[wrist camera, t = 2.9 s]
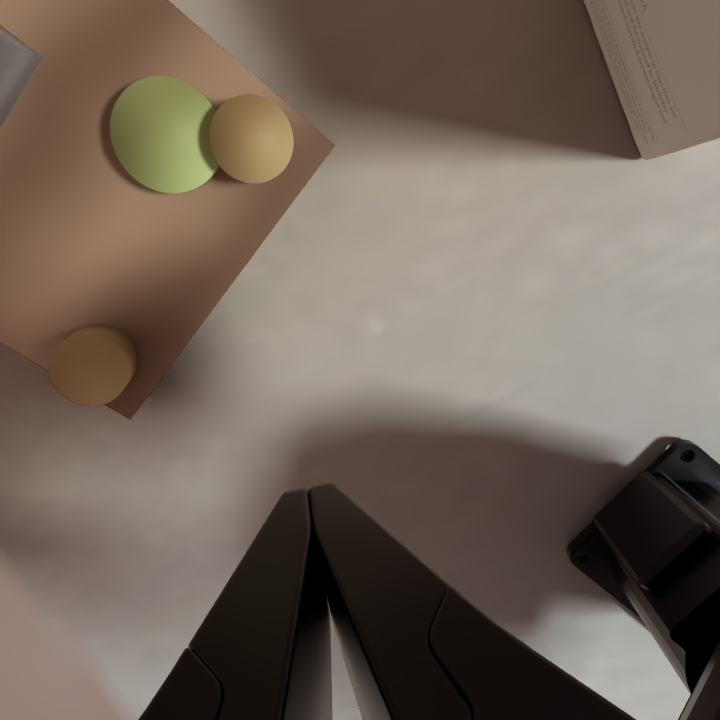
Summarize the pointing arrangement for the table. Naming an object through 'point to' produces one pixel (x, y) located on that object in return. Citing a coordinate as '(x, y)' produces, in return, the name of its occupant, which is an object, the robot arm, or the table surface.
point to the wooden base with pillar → (130, 187)
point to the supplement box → (663, 68)
